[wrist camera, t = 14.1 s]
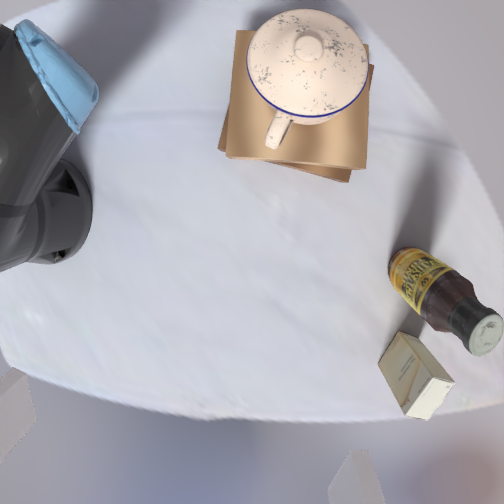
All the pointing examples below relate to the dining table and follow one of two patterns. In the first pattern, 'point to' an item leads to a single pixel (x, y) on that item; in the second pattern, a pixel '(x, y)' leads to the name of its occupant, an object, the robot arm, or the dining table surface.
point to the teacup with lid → (305, 68)
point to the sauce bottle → (445, 299)
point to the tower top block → (299, 136)
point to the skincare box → (415, 377)
